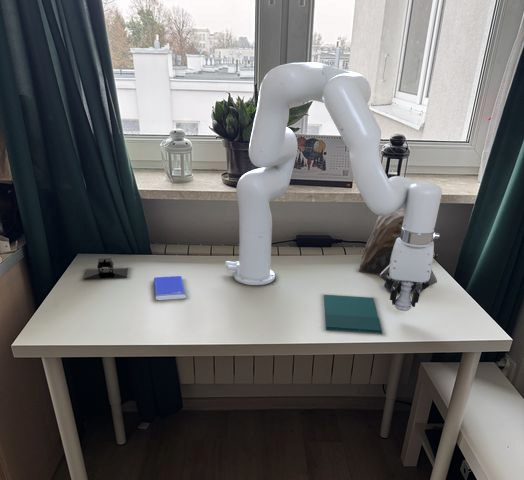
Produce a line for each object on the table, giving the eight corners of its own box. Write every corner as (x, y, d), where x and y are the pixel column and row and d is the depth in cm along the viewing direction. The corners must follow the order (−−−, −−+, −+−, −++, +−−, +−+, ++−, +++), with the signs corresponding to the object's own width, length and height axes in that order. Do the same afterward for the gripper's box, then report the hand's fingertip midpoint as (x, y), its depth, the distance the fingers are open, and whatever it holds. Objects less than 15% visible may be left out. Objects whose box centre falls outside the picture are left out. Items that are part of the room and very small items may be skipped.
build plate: (84, 280, 150) (81, 265, 147) (87, 270, 156) (84, 256, 153) (127, 278, 152) (125, 263, 149) (128, 268, 158) (126, 254, 155)
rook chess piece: (411, 312, 131) (417, 283, 127) (393, 310, 132) (399, 281, 127) (410, 304, 135) (416, 276, 130) (393, 302, 135) (398, 275, 131)
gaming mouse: (434, 290, 151) (437, 277, 149) (389, 294, 148) (392, 282, 146) (423, 281, 157) (425, 269, 154) (379, 285, 153) (381, 273, 151)
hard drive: (185, 293, 140) (181, 275, 151) (155, 295, 139) (153, 277, 149) (185, 298, 141) (181, 280, 151) (155, 300, 140) (154, 282, 150)
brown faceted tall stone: (370, 258, 171) (380, 199, 161) (407, 267, 166) (419, 206, 156) (356, 270, 162) (365, 208, 152) (395, 280, 157) (406, 216, 146)
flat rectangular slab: (326, 329, 129) (326, 327, 128) (324, 295, 146) (324, 293, 145) (381, 333, 128) (382, 330, 127) (373, 298, 145) (373, 296, 144)
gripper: (450, 234, 125) (434, 300, 135) (380, 228, 127) (370, 294, 137) (454, 244, 119) (437, 313, 128) (381, 238, 121) (370, 306, 131)
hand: (403, 302), depth 132 cm, fingers closed on rook chess piece, 4 cm apart
